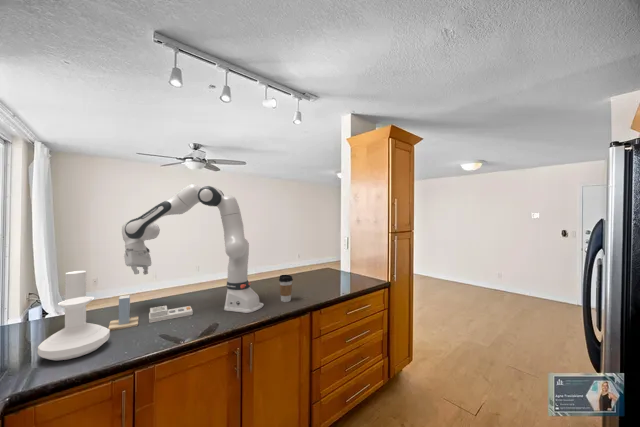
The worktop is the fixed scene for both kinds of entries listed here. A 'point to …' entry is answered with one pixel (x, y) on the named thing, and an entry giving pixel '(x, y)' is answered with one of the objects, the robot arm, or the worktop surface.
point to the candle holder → (74, 333)
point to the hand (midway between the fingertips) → (141, 274)
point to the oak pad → (115, 324)
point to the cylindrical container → (74, 286)
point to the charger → (124, 309)
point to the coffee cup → (285, 287)
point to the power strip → (168, 313)
